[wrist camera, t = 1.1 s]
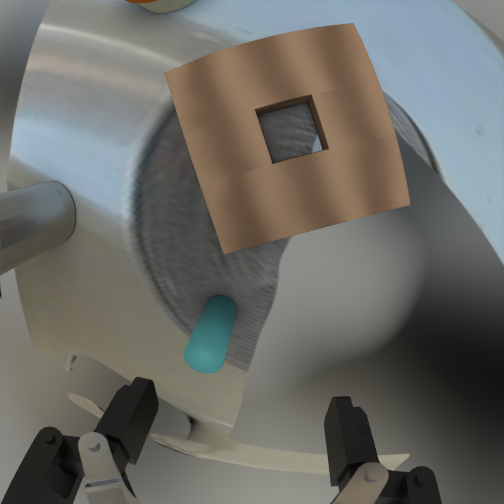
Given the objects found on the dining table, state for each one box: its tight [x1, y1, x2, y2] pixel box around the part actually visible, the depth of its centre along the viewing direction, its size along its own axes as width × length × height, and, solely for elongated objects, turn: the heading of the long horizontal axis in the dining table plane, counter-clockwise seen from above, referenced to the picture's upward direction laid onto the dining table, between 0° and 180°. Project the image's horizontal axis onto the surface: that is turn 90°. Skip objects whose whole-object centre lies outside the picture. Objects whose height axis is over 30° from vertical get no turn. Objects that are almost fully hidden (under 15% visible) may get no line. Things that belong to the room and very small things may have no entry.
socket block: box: [165, 23, 410, 254], centre depth 26 cm, size 20×20×4 cm
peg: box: [184, 295, 237, 373], centre depth 31 cm, size 4×4×10 cm
